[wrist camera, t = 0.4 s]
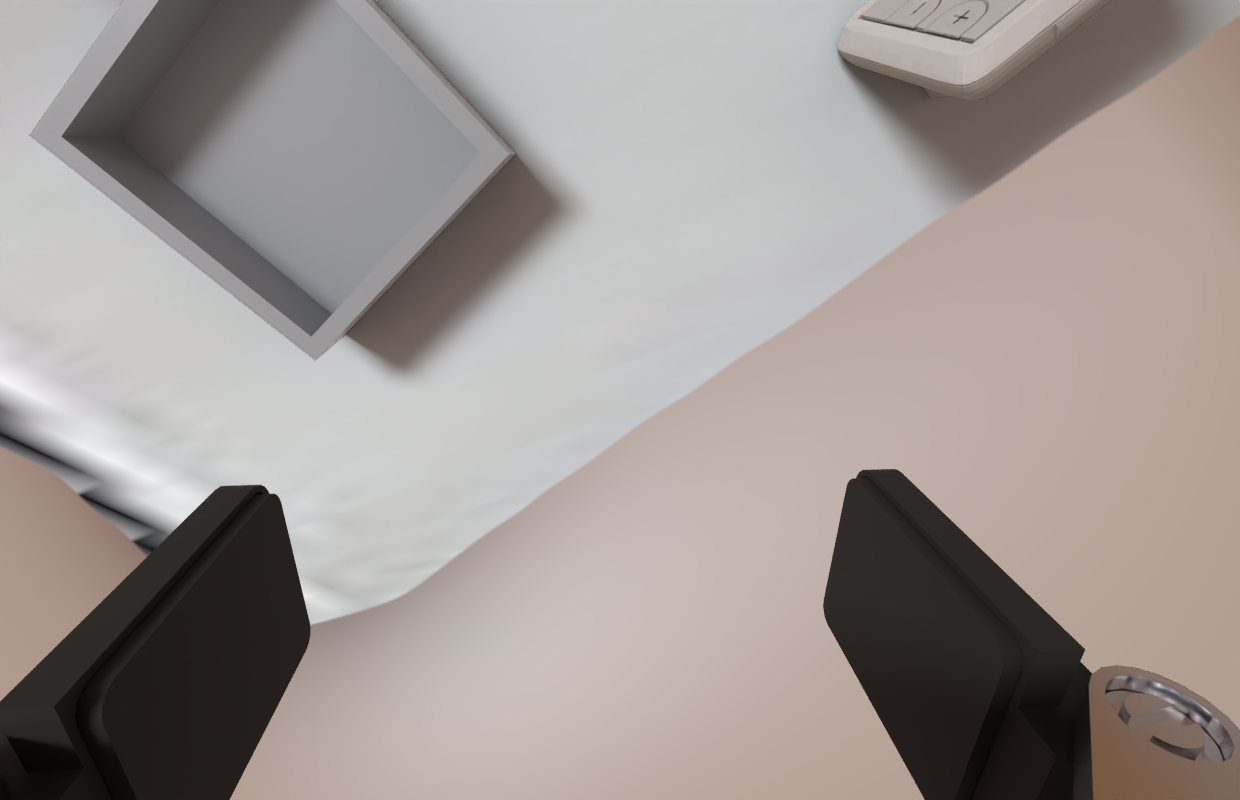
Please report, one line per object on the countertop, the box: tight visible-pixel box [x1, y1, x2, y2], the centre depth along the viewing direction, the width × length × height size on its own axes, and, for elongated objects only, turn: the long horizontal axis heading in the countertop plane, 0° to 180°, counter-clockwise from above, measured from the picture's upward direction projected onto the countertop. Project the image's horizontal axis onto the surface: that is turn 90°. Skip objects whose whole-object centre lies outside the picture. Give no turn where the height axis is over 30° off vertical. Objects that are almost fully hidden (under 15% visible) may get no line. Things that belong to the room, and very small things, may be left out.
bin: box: [30, 0, 516, 361], centre depth 32 cm, size 16×16×5 cm
